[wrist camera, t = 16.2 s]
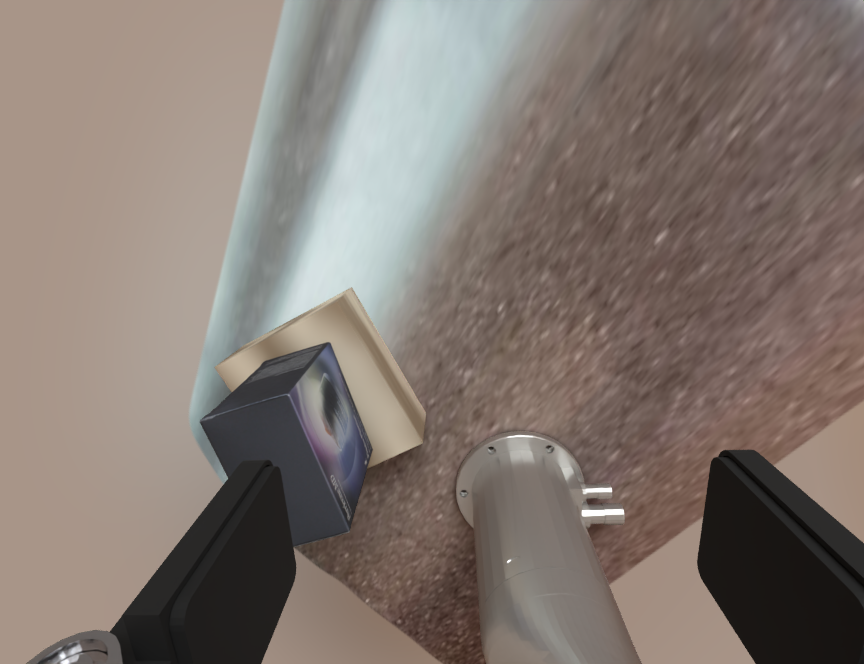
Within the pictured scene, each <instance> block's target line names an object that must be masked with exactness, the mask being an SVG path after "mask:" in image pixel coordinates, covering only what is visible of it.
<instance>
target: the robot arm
mask: <svg viewBox="0 0 864 664" xmlns="http://www.w3.org/2000/svg"><path fill="white" fill-rule="evenodd" d="M548 445H549V446H548ZM490 447H491V448H490ZM456 497H457V503H458V506H459V509H460V512H461V513H462V515H463V517H464V518H465V520H466V521H467V522H468V523H469V525H470V526H471V527H472V528H473V529H474V539H475V555H476V571H477V586H478V602H479V618H480V632H481V643H482V650H483V654H484V657H485V661H486V664H642V663H641V661H640V659H639V656H638V654H637V652H636V650H635V647H634V645H633V643H632V640H631V638H630V635H629V633H628V631H627V628H626V626H625V623H624V621H623V618H622V616H621V613H620V611H619V608H618V606H617V603H616V601H615V599H614V596H613V594H612V591H611V589H610V586H609V584H608V581H607V579H606V576H605V574H604V571H603V569H602V566H601V563H600V561H599V558H598V556H597V553H596V551H595V548H594V546H593V543H592V541H591V538H590V536H589V533H588V531H587V528H590V524H603V525H623V524H624V521H625V516H624V510H623V507H622V505H621V504H620V503H601V504H591V505H588V503H587V501H586V500H587V499H592V498H597V499H611V498H612V489H611V486H610V484H609V483H608V484H592V485H585V483H584V477H583V475H582V472H581V469H580V467H579V465H578V463H577V461H576V459H575V457H574V456H573V455H572V454H571V452H570V451H569V450H568V449H567V448H566V447H565V446H563V445H562V444H561V443H560V442H558V441H556V440H554V439H553V438H551V437H549V436H546V435H543V434H540V433H535V432H529V431H512V432H507V433H502V434H499V435H496V436H493V437H491V438H488V439H487V440H485V441H483V442H482V443H480V444H478V445H477V446H476V447H475V448H474V449H473V450H472V451H471V452H470V453H469V454H468V455H467V457H466V458H465V459H464V461H463V462H462V464H461V467H460V469H459V471H458V475H457V479H456ZM697 564H698V570H699V573H700V576H701V579H702V580H703V582H704V584H705V585H706V587H707V588H708V590H709V592H710V593H711V594H712V596H713V598H714V599H715V601H716V602H717V604H718V605H719V607H720V609H721V610H722V611H723V613H724V615H725V616H726V618H727V620H728V621H729V623H730V624H731V626H732V627H733V629H734V630H735V632H736V634H737V635H738V637H739V638H740V640H741V641H742V643H743V645H744V646H745V648H746V649H747V651H748V652H749V654H750V655H751V657H752V658H753V660H754V662H755V663H756V664H864V543H863V542H861V541H860V540H859V539H858V538H857V537H856V536H855V535H853V534H852V533H851V532H850V531H849V530H847V529H846V528H845V527H844V526H843V525H841V524H840V523H839V522H838V521H837V520H836V519H835V518H834V517H832V516H831V515H830V514H829V513H828V512H826V511H825V510H824V509H823V508H822V507H821V506H820V505H818V504H817V503H816V502H815V501H814V500H812V499H811V498H810V497H809V496H808V495H807V494H806V493H804V492H803V491H802V490H801V489H800V488H798V487H797V486H796V485H795V484H794V483H793V482H791V481H790V480H789V479H788V478H787V477H786V476H784V475H783V474H782V473H781V472H780V471H779V470H777V469H776V468H775V467H774V466H773V465H772V464H771V463H769V462H768V461H767V460H766V459H765V458H764V457H762V456H761V455H760V454H759V453H758V452H756V451H754V450H724V451H722V452H721V453H720V454H719V457H715V458H713V460H712V461H711V466H710V473H709V480H708V487H707V495H706V502H705V509H704V516H703V523H702V531H701V538H700V545H699V552H698V560H697ZM295 575H296V561H295V555H294V549H293V543H292V537H291V531H290V524H289V518H288V512H287V506H286V500H285V494H284V488H283V482H282V475H281V471H280V468H279V467H278V466H273V464H272V462H271V461H270V460H245V461H242V462H241V463H240V464H239V466H238V467H237V468H236V469H235V471H234V472H233V473H232V475H231V476H230V477H229V478H228V480H227V481H226V482H225V484H224V485H223V486H222V487H221V489H220V490H219V491H218V493H217V494H216V495H215V497H214V498H213V499H212V500H211V502H210V503H209V504H208V505H207V507H206V508H205V509H204V511H203V512H202V513H201V515H200V516H199V517H198V519H197V520H196V521H195V522H194V523H193V525H192V526H191V527H190V529H189V530H188V531H187V533H186V534H185V535H184V536H183V538H182V539H181V540H180V542H179V543H178V544H177V545H176V547H175V548H174V550H172V552H171V553H170V554H169V556H168V557H167V558H166V560H165V561H164V562H163V563H162V565H161V566H160V567H159V568H158V570H157V571H156V572H155V574H154V575H153V576H152V577H151V579H150V580H149V581H148V583H147V584H146V585H145V587H144V588H143V589H142V590H141V592H140V593H139V594H138V596H137V597H136V598H135V599H134V601H133V602H132V603H131V605H130V606H129V607H128V608H127V610H126V611H125V612H124V614H123V615H122V617H121V618H120V619H119V621H118V622H117V623H116V624H115V626H114V627H113V628H112V630H111V631H110V632H108V631H100V630H93V631H87V632H82V633H78V634H76V635H73V636H70V637H68V638H65V639H62V640H60V641H59V642H57V643H55V644H53V645H52V646H50V647H48V648H46V649H45V650H43V651H42V652H40V653H39V654H38V655H37V656H35V657H34V658H33V659H31V660H30V661H29V662H27V663H26V664H261V663H262V660H263V657H264V655H265V652H266V650H267V648H268V645H269V643H270V640H271V638H272V635H273V633H274V630H275V628H276V625H277V623H278V620H279V618H280V616H281V613H282V611H283V608H284V606H285V603H286V601H287V598H288V596H289V593H290V591H291V588H292V586H293V583H294V580H295Z"/></svg>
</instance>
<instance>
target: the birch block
mask: <svg viewBox="0 0 864 664" xmlns="http://www.w3.org/2000/svg"><path fill="white" fill-rule="evenodd" d="M326 342H330V343H331V345H332V348H333V350H334V353H335V355H336V358H337V360H338V363H339V365H340V368H341V371H342V373H343V376H344V378H345V380H346V383H347V385H348V388H349V391H350V393H351V396H352V398H353V401H354V403H355V406H356V408H357V411H358V413H359V416H360V418H361V421H362V423H363V426H364V428H365V431H366V433H367V436H368V438H369V441H370V443H371V446H372V448H373V451H372V454H371V457H370V461H369V464H368V467H367V469H368V468H370V467H372V466H374V465H376V464H379V463H381V462H383V461H385V460H387V459H389V458H392V457H394V456H396V455H398V454H400V453H402V452H405V451H407V450H409V449H411V448H413V447H416V446H418V445H420V444H422V443H423V437H424V428H425V419H426V412H425V411H424V409H423V407H422V406H421V404H420V402H419V400H418V399H417V397H416V395H415V394H414V392H413V390H412V389H411V387H410V385H409V384H408V382H407V380H406V378H405V377H404V375H403V373H402V372H401V370H400V368H399V367H398V365H397V363H396V361H395V360H394V358H393V356H392V355H391V353H390V351H389V350H388V348H387V346H386V344H385V343H384V341H383V339H382V338H381V336H380V334H379V333H378V331H377V329H376V328H375V326H374V324H373V322H372V321H371V319H370V317H369V316H368V314H367V312H366V311H365V309H364V307H363V305H362V304H361V302H360V300H359V299H358V297H357V295H356V294H355V292H354V290H353V288H352V287H351V288H350V289H348V290H346V291H344V292H342V293H340V294H338V295H337V296H335V297H333V298H331V299H329V300H327V301H325V302H324V303H322V304H320V305H318V306H316V307H314V308H312V309H311V310H309V311H307V312H305V313H303V314H301V315H300V316H298V317H296V318H294V319H292V320H290V321H288V322H287V323H285V324H283V325H281V326H279V327H277V328H275V329H274V330H272V331H270V332H268V333H266V334H264V335H262V336H261V337H259V338H257V339H255V340H253V341H251V342H249V343H248V344H246V345H244V346H242V347H241V348H240V349H238V350H237V351H236V352H234V353H233V354H232V355H230V356H229V357H228V358H226V359H225V360H224V361H222V362H221V363H220V364H218V365H217V366H216V367H214V368H215V369H216V370H217V372H218V373H219V375H220V376H221V378H222V379H223V380H224V382H225V383H226V385H227V386H228V388H229V389H230V390H231V392H233V391H234V390H235V389H236V388H237V387H238V386H239V385H240V384H242V383H243V382H244V381H245V380H246V379H247V378H248V377H249V376H250V375H251V374H252V373H254V372H255V370H257V369H258V368H259V367H260V366H261V364H262V363H263V362H264V361H266V360H270V359H273V358H276V357H279V356H283V355H286V354H289V353H292V352H296V351H299V350H302V349H306V348H309V347H312V346H316V345H319V344H323V343H326Z"/></svg>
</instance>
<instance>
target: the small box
mask: <svg viewBox="0 0 864 664" xmlns="http://www.w3.org/2000/svg"><path fill="white" fill-rule="evenodd" d="M200 423H201V425H202V427H203V429H204V431H205V433H206V435H207V437H208V439H209V441H210V443H211V445H212V447H213V449H214V451H215V453H216V455H217V457H218V459H219V461H220V463H221V465H222V467H223V469H224V471H225V473H226V475H227V476H228V478H229V477H230V476H231V475H232V473H233V472H234V471H235V469H236V468H237V467H238V466H239V464H240V463H241V462H242V461H245V460H270V461H271V462H272V464H273V466H278V467H279V468H280V471H281V475H282V482H283V488H284V494H285V500H286V506H287V512H288V518H289V524H290V531H291V537H292V543H293V547H297V546H300V545H304V544H308V543H312V542H315V541H319V540H324V539H327V538H331V537H335V536H338V535H342V534H345V533H349V532H350V528H351V523H352V519H353V516H354V513H355V509H356V506H357V502H358V499H359V495H360V492H361V488H362V485H363V481H364V478H365V474H366V471H367V467H368V464H369V461H370V457H371V454H372V451H373V448H372V446H371V443H370V441H369V438H368V436H367V433H366V431H365V428H364V426H363V423H362V421H361V418H360V416H359V413H358V411H357V408H356V406H355V403H354V401H353V398H352V396H351V393H350V391H349V388H348V385H347V383H346V380H345V378H344V376H343V373H342V371H341V368H340V365H339V363H338V360H337V358H336V355H335V353H334V350H333V348H332V345H331V343H330V342H326V343H323V344H319V345H316V346H312V347H309V348H306V349H302V350H299V351H296V352H292V353H289V354H286V355H283V356H279V357H276V358H273V359H270V360H266V361H264V362H263V363H262V364H261V366H260V367H259V368H258V369H257V370H255V372H254V373H252V374H251V375H250V376H249V377H248V378H247V379H246V380H245V381H244V382H243V383H242V384H240V385H239V386H238V387H237V388H236V389H235V390H234V391H233V392H232V393H231V394H230V395H229V396H228V397H227V398H226V399H225V400H223V401H222V402H221V403H220V404H219V405H218V406H217V407H216V408H215V409H213V410H212V411H211V412H210V413H209V414H207V415H206V416H205V417H204V418H202V419H201V420H200Z"/></svg>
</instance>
